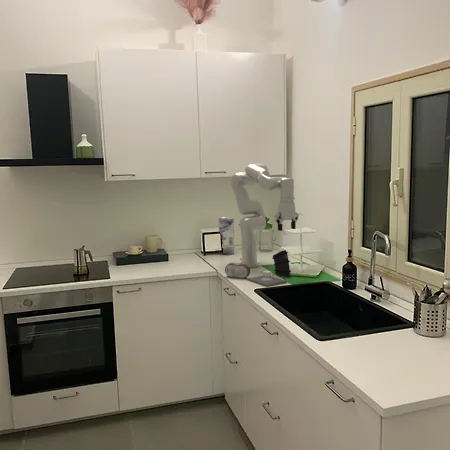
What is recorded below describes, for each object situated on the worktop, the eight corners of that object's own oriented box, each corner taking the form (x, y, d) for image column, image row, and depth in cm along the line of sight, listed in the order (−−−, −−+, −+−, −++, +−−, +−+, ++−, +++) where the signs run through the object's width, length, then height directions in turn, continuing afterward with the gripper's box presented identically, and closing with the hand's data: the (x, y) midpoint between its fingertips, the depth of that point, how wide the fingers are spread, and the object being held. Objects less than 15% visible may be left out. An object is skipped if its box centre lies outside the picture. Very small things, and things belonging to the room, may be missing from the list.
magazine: (288, 275, 270) (281, 250, 273) (276, 281, 281) (270, 256, 284) (294, 274, 272) (287, 249, 275) (281, 280, 283) (275, 256, 286)
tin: (250, 278, 273) (250, 263, 272) (248, 279, 271) (248, 264, 269) (226, 275, 280) (226, 261, 278) (224, 277, 277) (224, 263, 275)
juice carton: (228, 251, 351) (227, 215, 347) (236, 254, 342) (235, 216, 338) (217, 253, 346) (217, 216, 342) (225, 255, 337) (224, 217, 333)
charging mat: (247, 280, 269) (247, 274, 268) (267, 276, 276) (267, 270, 276) (266, 286, 254) (266, 280, 253) (286, 282, 261) (286, 276, 261)
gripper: (294, 198, 276) (294, 227, 278) (270, 200, 266) (270, 230, 269) (303, 199, 269) (302, 229, 272) (279, 201, 260) (278, 232, 263)
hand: (286, 229), depth 271 cm, fingers open, 9 cm apart
